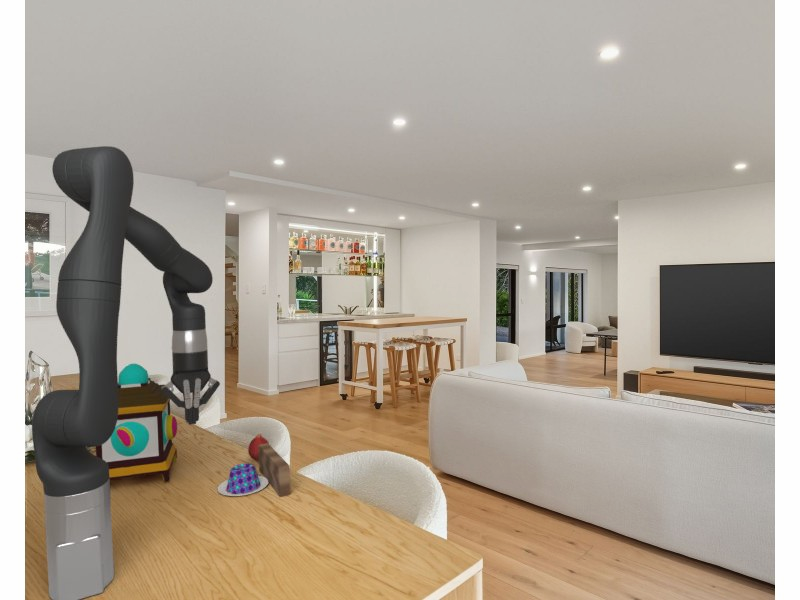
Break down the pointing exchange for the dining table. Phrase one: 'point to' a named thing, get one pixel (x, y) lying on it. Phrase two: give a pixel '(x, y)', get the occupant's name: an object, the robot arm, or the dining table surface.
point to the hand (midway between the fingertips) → (192, 423)
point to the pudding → (242, 481)
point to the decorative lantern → (140, 429)
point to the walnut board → (274, 469)
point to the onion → (256, 446)
